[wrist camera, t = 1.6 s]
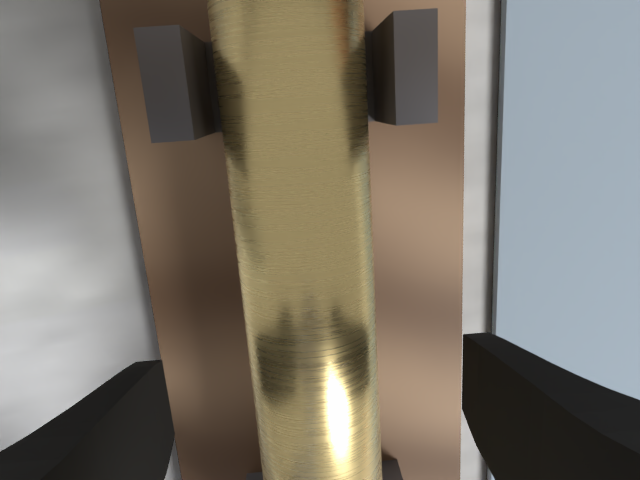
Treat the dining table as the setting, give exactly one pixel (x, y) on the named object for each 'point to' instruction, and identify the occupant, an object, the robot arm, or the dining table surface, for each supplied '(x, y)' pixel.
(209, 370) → the rail stand
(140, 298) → the dining table surface
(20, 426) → the dining table surface
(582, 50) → the slate mat
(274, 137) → the brass rail
